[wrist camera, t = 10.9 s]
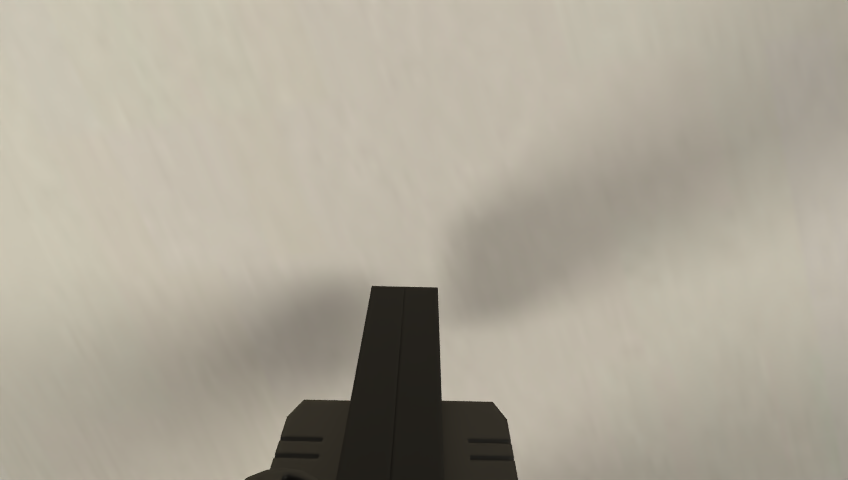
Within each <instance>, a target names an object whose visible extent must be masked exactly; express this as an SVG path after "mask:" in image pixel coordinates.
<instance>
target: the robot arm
mask: <svg viewBox="0 0 848 480" xmlns="http://www.w3.org/2000/svg"><path fill="white" fill-rule="evenodd" d="M245 480H518V477H517V472H516V466H515V461H514V455H513V450H512V445H511V439H510V434H509V428H508V423H507V419H506V418H505V417H504V415H503V414H502V413H501V412H500V410H499V409H498V408H497V407H496V406H495V404H494V403H493V402H472V401H442V398H441V369H440V340H439V311H438V288H433V287H387V286H372V288H371V294H370V299H369V305H368V310H367V315H366V321H365V326H364V331H363V337H362V342H361V347H360V353H359V358H358V364H357V369H356V374H355V380H354V385H353V390H352V396H351V401H338V400H303V401H302V402H301V403H300V404H299V405H298V406H297V407H296V408H295V409H294V410H293V411H292V412H291V413H290V414H289V415H288V417H287V419H286V422H285V425H284V428H283V431H282V434H281V440H280V441H279V443H278V446H277V450H276V453H275V458H274V459H273V462H272V465H271V468H270V470H265V471H263V472H260V473H257V474H255V475H252V476H250V477H248V478H246V479H245Z"/></svg>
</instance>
